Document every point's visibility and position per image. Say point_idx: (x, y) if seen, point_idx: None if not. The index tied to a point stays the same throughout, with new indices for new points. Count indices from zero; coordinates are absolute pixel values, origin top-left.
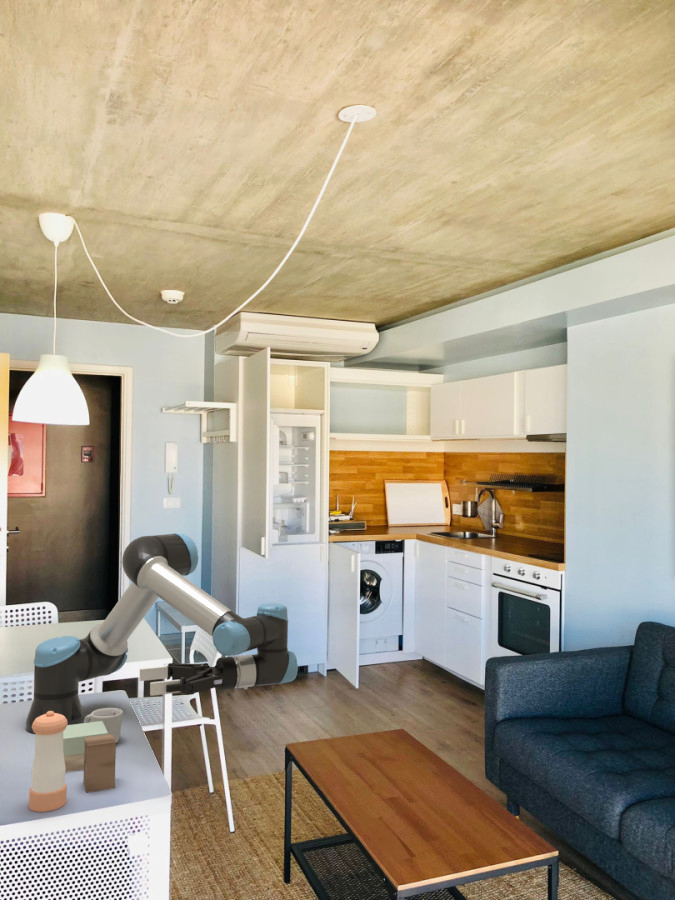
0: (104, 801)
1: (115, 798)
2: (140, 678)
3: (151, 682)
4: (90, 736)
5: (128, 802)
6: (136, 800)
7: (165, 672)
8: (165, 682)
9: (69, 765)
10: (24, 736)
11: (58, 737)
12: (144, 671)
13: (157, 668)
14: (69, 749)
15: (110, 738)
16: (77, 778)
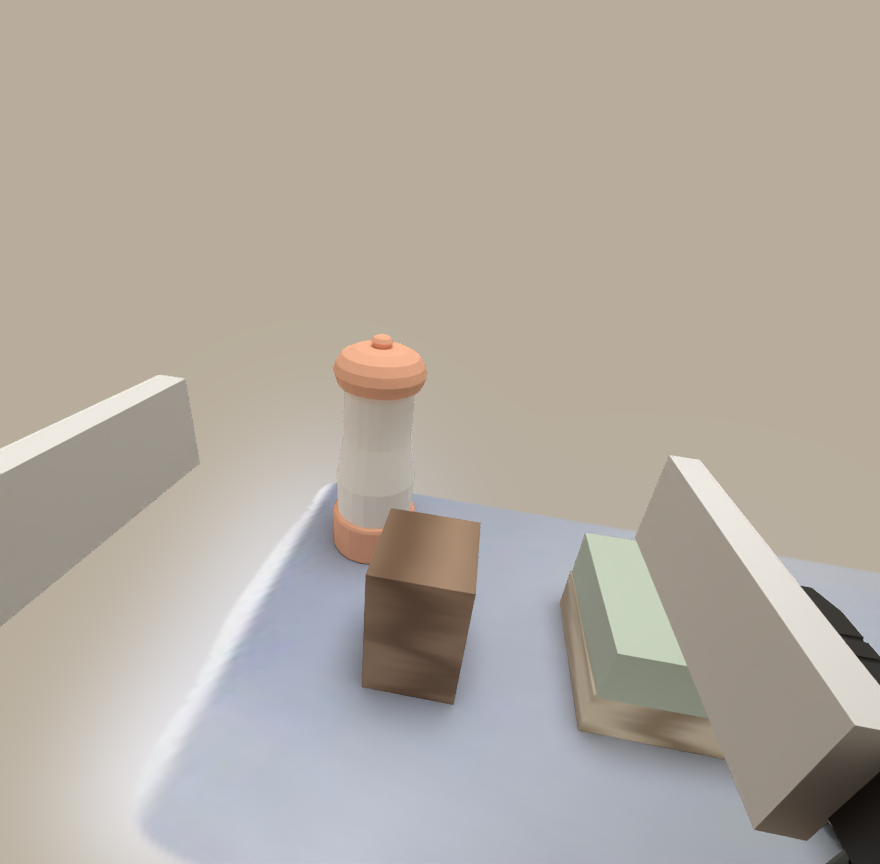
0: (289, 630)
1: (283, 661)
2: (643, 523)
3: (176, 381)
4: (601, 599)
5: (219, 684)
6: (208, 713)
7: (781, 739)
8: (51, 431)
9: (566, 606)
10: (874, 599)
11: (346, 401)
12: (673, 495)
13: (745, 578)
14: (578, 572)
15: (421, 574)
16: (499, 621)
